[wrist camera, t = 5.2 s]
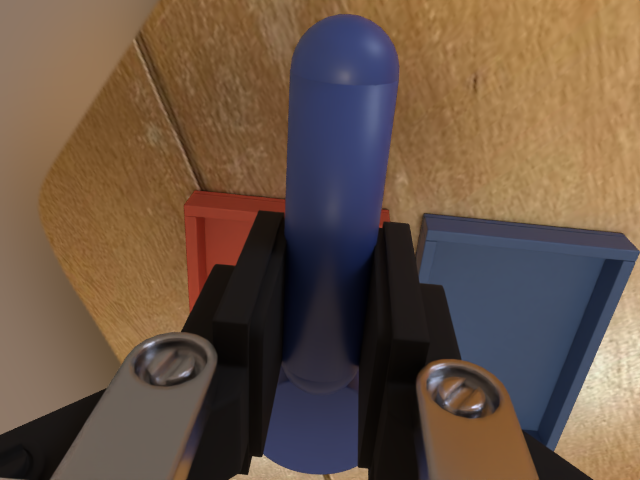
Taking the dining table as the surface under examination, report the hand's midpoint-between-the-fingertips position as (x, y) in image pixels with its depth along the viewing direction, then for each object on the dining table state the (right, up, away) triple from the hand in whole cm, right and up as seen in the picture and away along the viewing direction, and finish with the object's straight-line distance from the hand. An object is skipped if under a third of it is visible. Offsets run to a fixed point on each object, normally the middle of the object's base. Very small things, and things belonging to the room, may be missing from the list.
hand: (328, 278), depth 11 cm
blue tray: (+10, -5, +19) cm, 22 cm away
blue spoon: (0, 0, 0) cm, 0 cm away
